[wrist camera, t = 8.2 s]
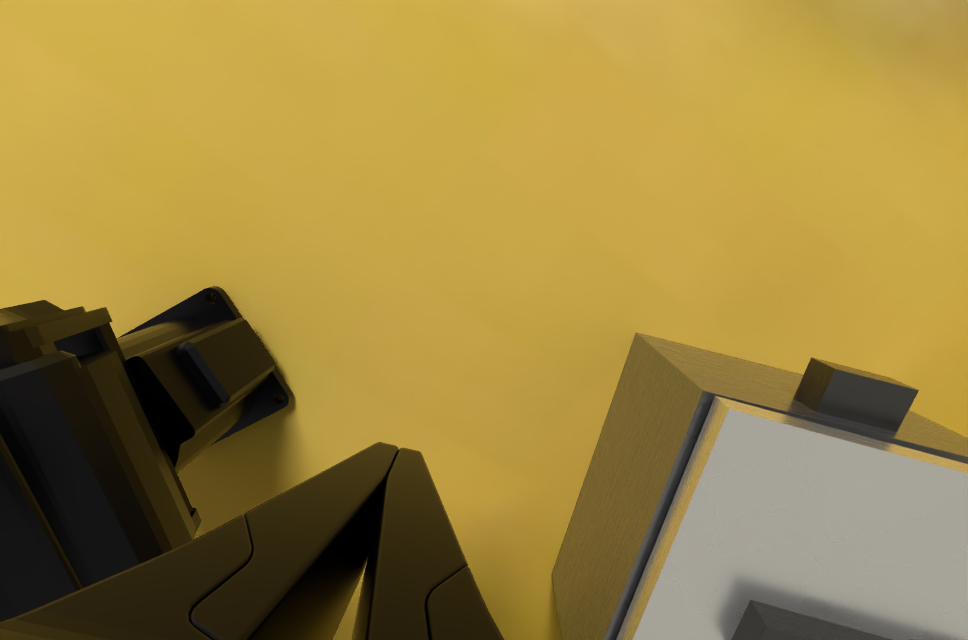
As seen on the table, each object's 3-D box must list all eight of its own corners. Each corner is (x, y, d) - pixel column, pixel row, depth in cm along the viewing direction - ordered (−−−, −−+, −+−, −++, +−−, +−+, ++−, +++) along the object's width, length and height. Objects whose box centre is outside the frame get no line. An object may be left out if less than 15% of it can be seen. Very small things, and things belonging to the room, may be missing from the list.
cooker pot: (543, 597, 25) (562, 743, 18) (647, 300, 21) (721, 344, 14) (749, 644, 26) (842, 802, 19) (889, 362, 22) (1073, 434, 15)
